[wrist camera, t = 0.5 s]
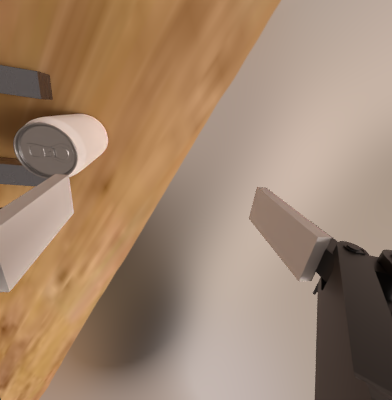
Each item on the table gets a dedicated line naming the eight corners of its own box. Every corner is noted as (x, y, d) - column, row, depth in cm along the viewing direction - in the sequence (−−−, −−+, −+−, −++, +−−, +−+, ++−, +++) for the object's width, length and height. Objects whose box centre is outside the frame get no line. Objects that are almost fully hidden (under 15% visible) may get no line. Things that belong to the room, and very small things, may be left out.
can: (109, 159, 33) (85, 185, 22) (65, 155, 31) (16, 181, 21) (107, 116, 30) (78, 121, 19) (59, 110, 29) (-1, 113, 18)
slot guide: (-62, 56, 25) (-89, 50, 22) (49, 74, 27) (37, 71, 24) (-25, 174, 30) (-44, 180, 28) (63, 180, 33) (54, 187, 30)
